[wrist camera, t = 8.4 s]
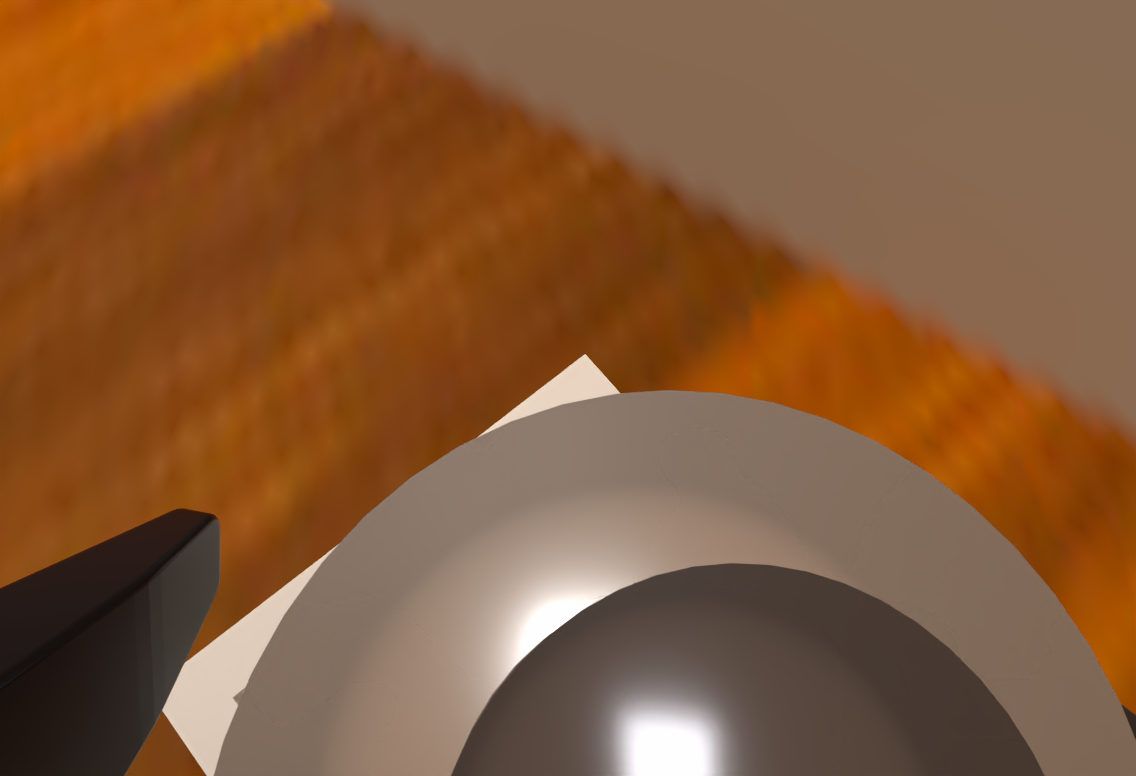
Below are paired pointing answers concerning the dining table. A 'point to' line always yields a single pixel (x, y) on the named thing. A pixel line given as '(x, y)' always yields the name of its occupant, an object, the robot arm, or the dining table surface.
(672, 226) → the dining table surface
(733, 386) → the dining table surface
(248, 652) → the serving tray
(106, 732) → the robot arm
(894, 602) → the metal water bottle
